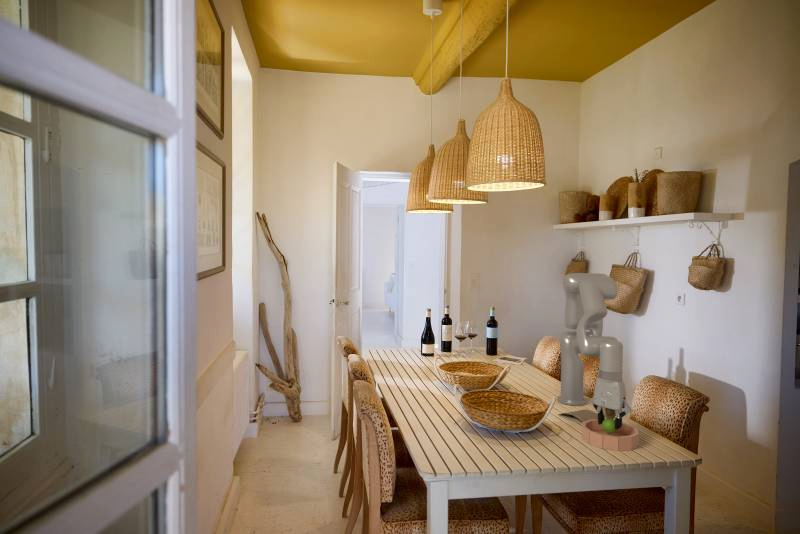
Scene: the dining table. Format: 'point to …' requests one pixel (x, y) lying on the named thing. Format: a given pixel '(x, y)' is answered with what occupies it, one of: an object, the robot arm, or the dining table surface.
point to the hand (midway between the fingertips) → (609, 425)
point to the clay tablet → (583, 415)
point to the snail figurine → (609, 420)
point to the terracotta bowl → (610, 436)
